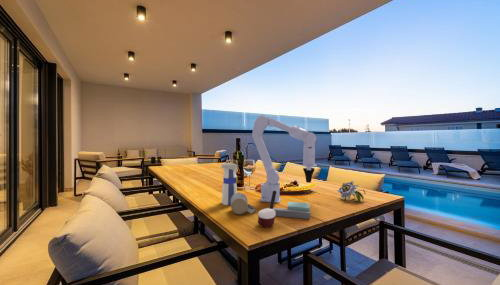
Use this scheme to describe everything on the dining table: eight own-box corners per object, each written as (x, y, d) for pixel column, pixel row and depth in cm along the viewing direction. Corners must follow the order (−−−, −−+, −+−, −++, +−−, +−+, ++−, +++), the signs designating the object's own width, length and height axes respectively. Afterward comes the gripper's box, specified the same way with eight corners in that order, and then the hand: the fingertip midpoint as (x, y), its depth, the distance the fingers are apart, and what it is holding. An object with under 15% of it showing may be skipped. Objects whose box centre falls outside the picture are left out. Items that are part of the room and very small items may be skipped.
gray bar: (272, 215, 93) (272, 209, 93) (273, 213, 95) (273, 207, 95) (309, 219, 89) (310, 213, 89) (309, 217, 92) (309, 211, 91)
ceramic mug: (230, 215, 92) (231, 197, 92) (230, 209, 100) (230, 192, 100) (256, 215, 93) (256, 197, 93) (253, 209, 101) (254, 192, 101)
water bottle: (235, 199, 116) (235, 151, 115) (239, 204, 108) (240, 153, 107) (219, 201, 113) (220, 152, 113) (223, 205, 105) (223, 153, 105)
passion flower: (344, 210, 118) (331, 189, 123) (356, 203, 123) (344, 184, 128) (359, 203, 109) (345, 181, 114) (372, 196, 114) (358, 175, 119)
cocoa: (259, 231, 78) (259, 198, 77) (252, 224, 84) (252, 193, 83) (283, 226, 82) (282, 194, 81) (274, 219, 88) (274, 189, 87)
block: (287, 215, 94) (287, 206, 94) (288, 210, 101) (288, 201, 101) (309, 217, 92) (309, 208, 92) (309, 212, 98) (309, 203, 98)
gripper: (317, 157, 105) (317, 185, 105) (316, 155, 119) (316, 180, 119) (302, 156, 107) (302, 184, 107) (303, 154, 121) (302, 179, 121)
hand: (308, 182), depth 113 cm, fingers closed
